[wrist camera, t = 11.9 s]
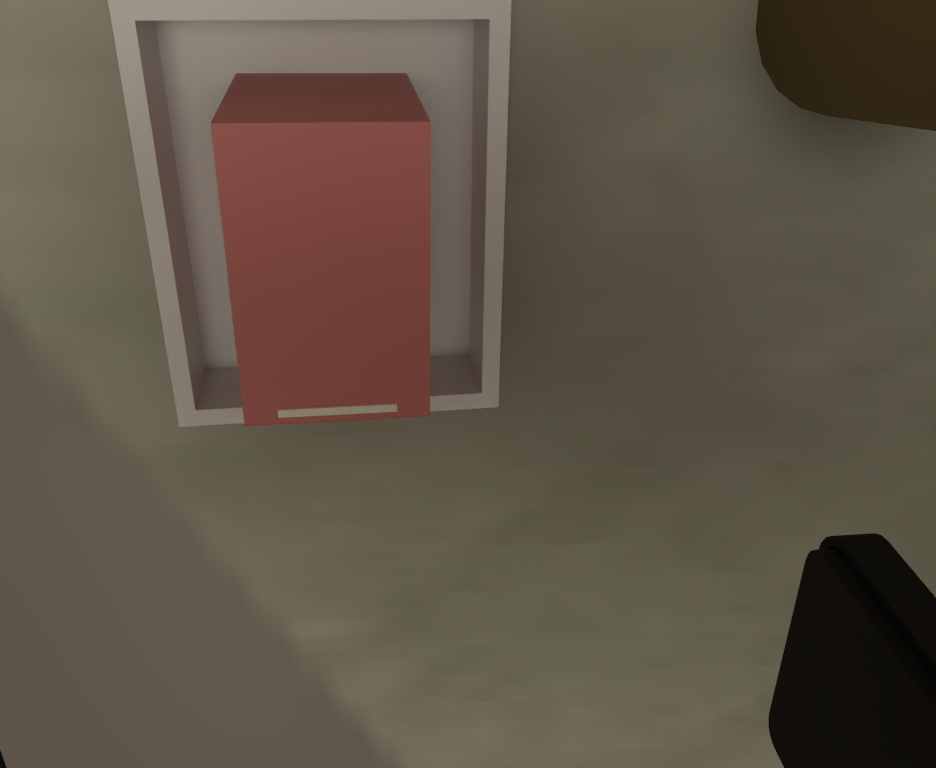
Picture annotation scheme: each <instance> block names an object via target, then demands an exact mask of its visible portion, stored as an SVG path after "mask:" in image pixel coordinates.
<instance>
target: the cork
mask: <svg viewBox="0 0 936 768" xmlns="http://www.w3.org/2000/svg"><path fill="white" fill-rule="evenodd" d="M756 33H757V38H758V44H759V49H760V54H761V60H762V64H763V66H764V67H765V69H766V71H767V73H768V74H769V76H770V78H771V79H772V81H773V83H774V85H775V86H776V88H777V90H778V91H780V92H781V93H782V94H783V95H785V96H786V97H787V98H788V99H790V100H791V101H792V102H793V103H795V104H796V105H797V106H799V107H800V108H803V109H806V110H810V111H813V112H817V113H820V114H824V115H827V116H834V117H841V118H848V119H855V120H862V121H870V122H877V123H884V124H891V125H898V126H905V127H912V128H919V129H926V130H933V131H936V0H759V6H758V16H757V25H756Z"/></svg>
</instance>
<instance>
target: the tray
mask: <svg viewBox="0 0 936 768" xmlns="http://www.w3.org/2000/svg"><path fill="white" fill-rule="evenodd" d="M108 4H109V10H110V16H111V22H112V28H113V34H114V40H115V46H116V52H117V58H118V64H119V70H120V76H121V82H122V88H123V94H124V100H125V106H126V112H127V118H128V124H129V130H130V136H131V142H132V148H133V154H134V160H135V166H136V172H137V178H138V184H139V190H140V196H141V202H142V207H143V213H144V219H145V225H146V231H147V237H148V243H149V249H150V255H151V261H152V267H153V273H154V279H155V285H156V291H157V297H158V303H159V309H160V315H161V321H162V327H163V333H164V339H165V345H166V351H167V357H168V363H169V369H170V375H171V381H172V387H173V393H174V399H175V405H176V411H177V417H178V423H179V427H188V426H204V425H220V424H236V423H244V416H243V407H242V398H241V390H240V381H239V372H238V363H237V354H236V346H235V337H234V328H233V319H232V310H231V302H230V293H229V284H228V275H227V266H226V257H225V249H224V240H223V231H222V222H221V213H220V205H219V196H218V187H217V178H216V169H215V161H214V152H213V143H212V134H211V125H210V123H211V121H212V119H213V117H214V115H215V113H216V111H217V109H218V107H219V105H220V104H221V102H222V100H223V98H224V96H225V94H226V92H227V90H228V88H229V86H230V84H231V82H232V80H233V78H234V76H235V74H236V73H407V75H408V77H409V79H410V81H411V83H412V85H413V87H414V89H415V91H416V93H417V95H418V97H419V99H420V101H421V103H422V105H423V107H424V109H425V111H426V113H427V115H428V117H429V119H430V121H431V169H430V411H445V410H461V409H477V408H494V407H499V376H500V345H501V313H502V282H503V250H504V219H505V187H506V156H507V125H508V93H509V62H510V30H511V0H108Z"/></svg>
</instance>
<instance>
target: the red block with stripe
mask: <svg viewBox="0 0 936 768" xmlns="http://www.w3.org/2000/svg"><path fill="white" fill-rule="evenodd" d="M210 125H211V134H212V143H213V152H214V161H215V169H216V178H217V187H218V196H219V205H220V213H221V222H222V231H223V240H224V249H225V257H226V266H227V275H228V284H229V293H230V302H231V310H232V319H233V328H234V337H235V346H236V354H237V363H238V372H239V381H240V390H241V398H242V407H243V416H244V425H245V426H249V425H268V424H286V423H305V422H324V421H342V420H361V419H380V418H398V417H417V416H430V169H431V121H430V119H429V117H428V115H427V113H426V111H425V109H424V107H423V105H422V103H421V101H420V99H419V97H418V95H417V93H416V91H415V89H414V87H413V85H412V83H411V81H410V79H409V77H408V75H407V73H236V74H235V76H234V78H233V80H232V82H231V84H230V86H229V88H228V90H227V92H226V94H225V96H224V98H223V100H222V102H221V104H220V105H219V107H218V109H217V111H216V113H215V115H214V117H213V119H212V121H211V123H210Z"/></svg>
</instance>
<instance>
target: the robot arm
mask: <svg viewBox="0 0 936 768" xmlns="http://www.w3.org/2000/svg"><path fill="white" fill-rule="evenodd" d="M769 730H770V736H771V739H772V743H773V745H774V748H775V750H776V752H777V754H778V756H779V758H780V760H781V762H782V764H783V766H784V768H936V598H935V596H934V595H933V594H932V593H931V592H930V590H929V589H928V588H927V587H926V586H925V585H924V583H923V582H922V581H921V580H920V579H919V577H918V576H917V575H916V574H915V573H914V571H913V570H912V569H911V568H910V567H909V566H908V564H907V563H906V562H905V561H904V560H903V558H902V557H901V556H900V555H899V554H898V552H897V551H896V550H895V549H894V548H893V547H892V545H891V544H890V543H889V542H888V541H887V540H886V539H885V538H884V537H883V536H881V535H878V534H875V533H873V534H857V535H841V536H830V537H826V538H825V539H824V540H823V541H822V542H821V545H820V547H819V550H813V551H811V552H810V553H809V554H808V556H807V558H806V561H805V565H804V569H803V574H802V578H801V582H800V586H799V590H798V595H797V599H796V603H795V607H794V611H793V616H792V620H791V624H790V628H789V632H788V637H787V641H786V645H785V649H784V653H783V657H782V662H781V666H780V670H779V674H778V678H777V683H776V687H775V691H774V695H773V699H772V704H771V708H770V712H769ZM0 768H6V765H5V763H4V759H3V757H2V754H1V751H0Z"/></svg>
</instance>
